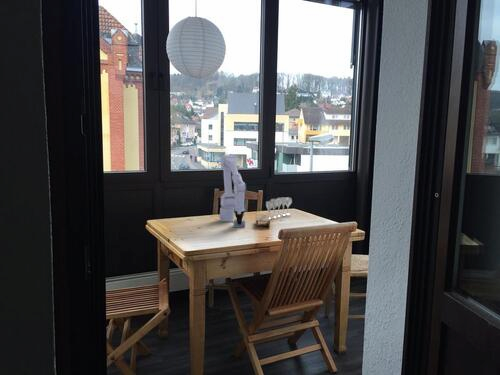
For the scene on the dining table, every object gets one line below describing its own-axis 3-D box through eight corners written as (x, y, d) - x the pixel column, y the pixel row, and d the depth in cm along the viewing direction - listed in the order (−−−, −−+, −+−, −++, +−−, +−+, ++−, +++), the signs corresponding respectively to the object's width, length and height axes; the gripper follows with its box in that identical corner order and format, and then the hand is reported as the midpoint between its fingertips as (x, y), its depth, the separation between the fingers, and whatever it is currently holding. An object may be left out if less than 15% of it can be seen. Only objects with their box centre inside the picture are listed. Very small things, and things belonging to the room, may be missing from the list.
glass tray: (233, 227, 262) (233, 221, 262) (234, 225, 268) (234, 219, 267) (244, 227, 262) (244, 221, 262) (245, 225, 267) (245, 219, 267)
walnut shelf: (256, 228, 261) (256, 220, 260) (256, 222, 278) (256, 215, 277) (269, 228, 261) (269, 220, 260) (268, 222, 278) (269, 215, 277)
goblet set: (270, 219, 289) (270, 200, 287) (263, 218, 292) (264, 199, 291) (293, 214, 310) (293, 196, 309) (286, 213, 314) (287, 195, 312)
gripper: (234, 200, 270) (233, 220, 272) (232, 203, 256) (232, 225, 258) (244, 200, 270) (244, 221, 272) (244, 204, 256) (244, 225, 257)
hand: (239, 223), depth 265 cm, fingers closed on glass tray, 5 cm apart
